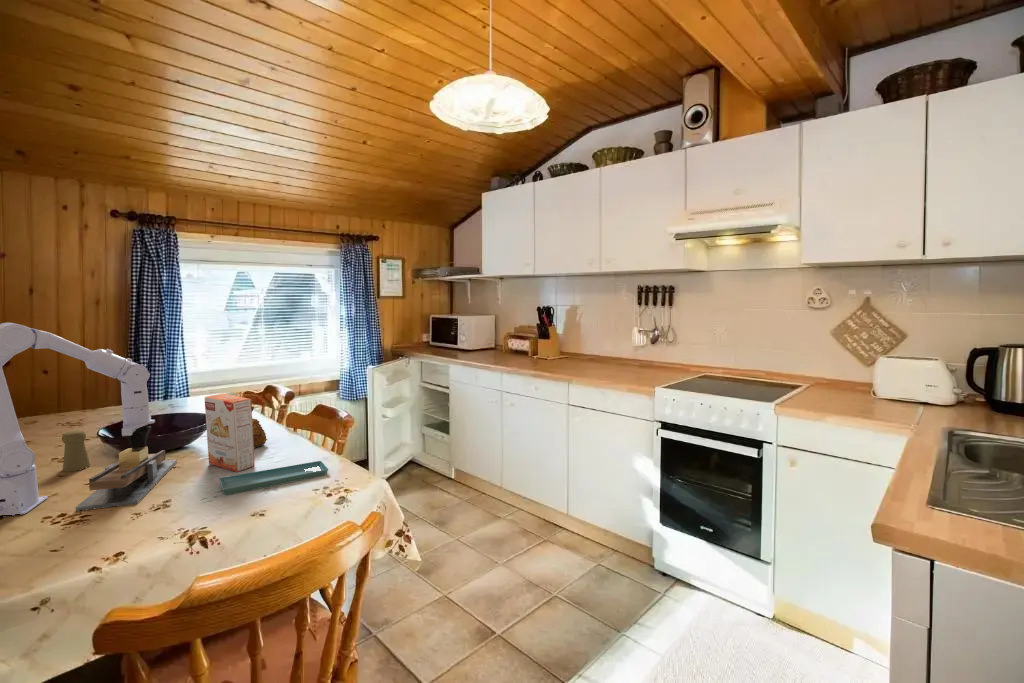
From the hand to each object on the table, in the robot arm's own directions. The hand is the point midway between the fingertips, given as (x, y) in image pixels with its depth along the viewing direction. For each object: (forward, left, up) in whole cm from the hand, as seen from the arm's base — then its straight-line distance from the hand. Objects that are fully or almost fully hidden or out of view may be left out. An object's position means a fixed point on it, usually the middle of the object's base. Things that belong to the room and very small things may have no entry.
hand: (139, 453), depth 133 cm
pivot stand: (-6, 0, -7) cm, 9 cm away
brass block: (-4, 0, -2) cm, 4 cm away
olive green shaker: (+13, +20, -7) cm, 25 cm away
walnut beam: (-6, 0, -3) cm, 6 cm away
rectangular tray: (-15, -36, -7) cm, 39 cm away
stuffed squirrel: (+21, -24, -7) cm, 32 cm away
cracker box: (+1, -22, -7) cm, 23 cm away
